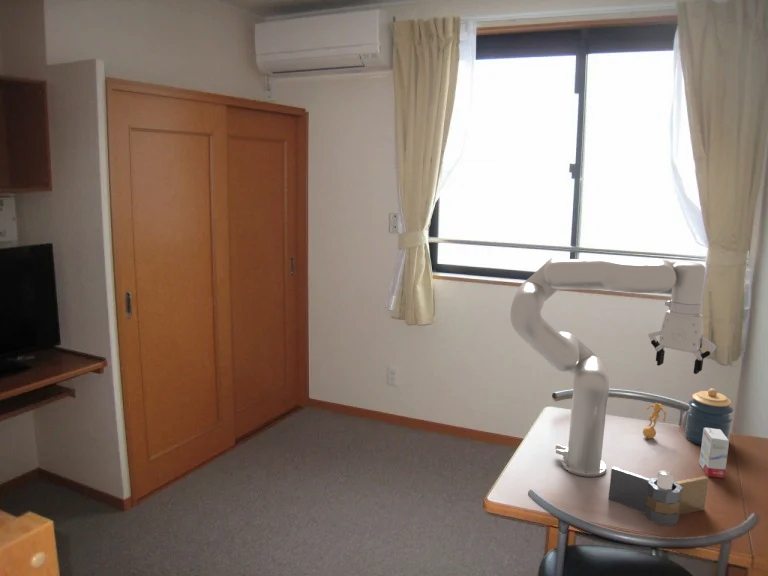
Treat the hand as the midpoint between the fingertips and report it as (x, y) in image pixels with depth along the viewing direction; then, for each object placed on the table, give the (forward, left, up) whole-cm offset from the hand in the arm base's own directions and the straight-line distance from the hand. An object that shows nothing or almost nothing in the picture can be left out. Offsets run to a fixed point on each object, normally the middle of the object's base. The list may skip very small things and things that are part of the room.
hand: (677, 368), depth 175 cm
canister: (+2, +37, -33) cm, 50 cm away
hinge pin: (+5, -21, -33) cm, 40 cm away
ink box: (+9, +15, -34) cm, 38 cm away
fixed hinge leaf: (+1, -21, -33) cm, 39 cm away
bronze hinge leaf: (+8, -17, -33) cm, 38 cm away
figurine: (-12, +26, -33) cm, 44 cm away
